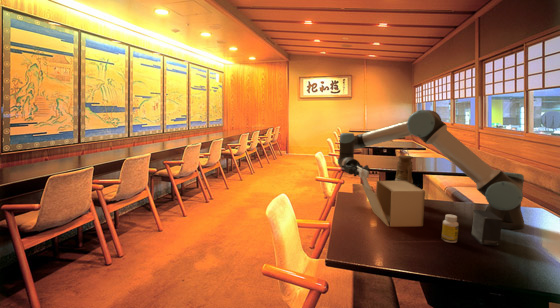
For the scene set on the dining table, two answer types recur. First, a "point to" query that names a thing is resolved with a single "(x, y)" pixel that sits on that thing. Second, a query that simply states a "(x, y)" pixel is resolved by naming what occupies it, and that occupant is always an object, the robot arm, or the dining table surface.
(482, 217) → the small box
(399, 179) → the lantern
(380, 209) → the front flap
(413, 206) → the carton
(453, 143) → the robot arm
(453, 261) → the dining table surface
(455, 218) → the supplement bottle
